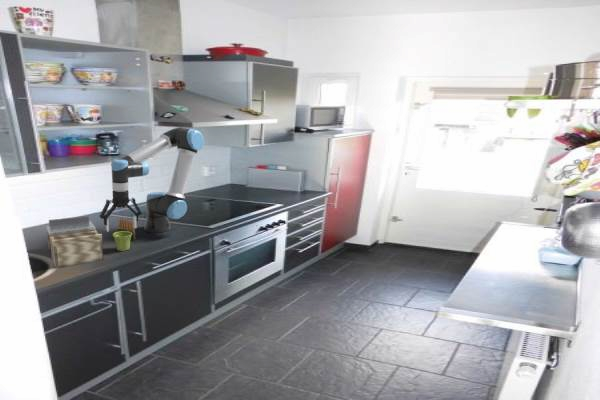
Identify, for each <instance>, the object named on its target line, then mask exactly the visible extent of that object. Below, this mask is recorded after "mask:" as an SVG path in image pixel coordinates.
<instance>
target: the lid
mask: <svg viewBox="0 0 600 400" xmlns="http://www.w3.org/2000/svg"><path fill="white" fill-rule="evenodd" d="M89 218H90V217H89V215H83V216H73V217H64V218H58V219H56V218H55V219H48V225H46V231H47V230H48V232H49V235H53V236H57V235H65V234H73V233H81V232H88V231H89V230H96V229H97V227H96V226H95V224H93V222H92V221H91V220H90V219H89Z"/></svg>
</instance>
